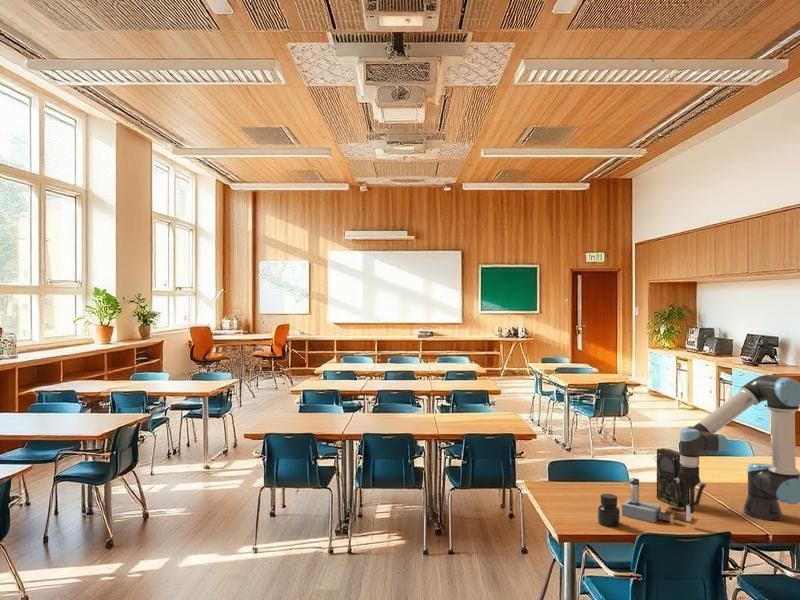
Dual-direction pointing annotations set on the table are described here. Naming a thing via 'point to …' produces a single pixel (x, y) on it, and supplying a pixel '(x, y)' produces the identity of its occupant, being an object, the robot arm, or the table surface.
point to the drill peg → (634, 491)
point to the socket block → (641, 511)
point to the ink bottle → (609, 511)
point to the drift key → (667, 516)
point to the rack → (677, 513)
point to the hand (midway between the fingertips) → (688, 520)
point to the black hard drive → (669, 477)
